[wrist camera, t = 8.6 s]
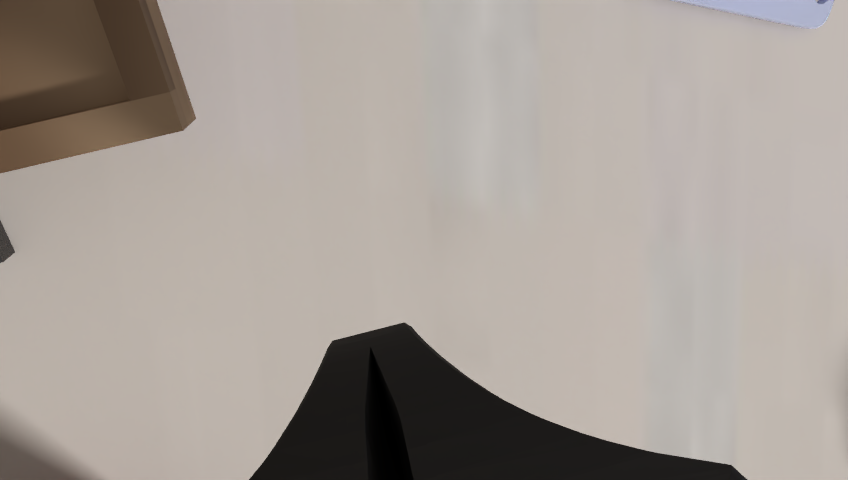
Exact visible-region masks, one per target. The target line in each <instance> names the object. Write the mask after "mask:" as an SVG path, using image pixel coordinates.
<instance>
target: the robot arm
mask: <svg viewBox="0 0 848 480" xmlns="http://www.w3.org/2000/svg"><path fill="white" fill-rule="evenodd" d="M671 1H676V2H681V3H685V4H690V5H695V6H700V7H704V8H709V9H714V10H719V11H723V12H728V13H733V14H738V15H742V16H747V17H752V18H757V19H761V20H766V21H771V22H776V23H780V24H785V25H790V26H794V27H799V28H807V29H815V28H818V27H820V26H822V25H823V24H824V23H825V22H826V20H827V18H828V16H829V14H830V11H831V8H832V6H833V3H834V0H818V2H816V0H671ZM249 480H747V479H746V478H745V477H744V476H742V475H741V474H740V473H739V472H738V471H737V470H736V469H735V468H734V467H733V466H731V465H728V464H721V463H715V462H709V461H703V460H697V459H691V458H684V457H678V456H672V455H666V454H660V453H654V452H650V451H645V450H641V449H637V448H633V447H629V446H625V445H621V444H617V443H613V442H609V441H606V440H602V439H599V438H596V437H592V436H589V435H586V434H583V433H580V432H577V431H574V430H571V429H569V428H566V427H563V426H560V425H558V424H555V423H552V422H550V421H547V420H545V419H542V418H540V417H538V416H535V415H533V414H531V413H528V412H526V411H524V410H522V409H520V408H518V407H516V406H514V405H512V404H510V403H508V402H506V401H504V400H503V399H501V398H499V397H498V396H496V395H494V394H493V393H491V392H489V391H488V390H486V389H485V388H483V387H482V386H480V385H479V384H477V383H476V382H474V381H473V380H471V379H470V378H469V377H467V376H466V375H464V374H463V373H462V372H460V371H459V370H458V369H457V368H455V367H454V366H453V365H451V364H450V363H449V362H448V361H446V360H445V359H444V358H443V357H441V356H440V355H439V354H438V353H437V352H436V351H435V350H433V349H432V348H431V347H430V346H429V345H428V344H427V343H426V342H425V341H424V340H423V339H422V338H421V337H420V336H419V335H418V334H417V333H416V332H415V330H414V329H413V328H412V327H411V326H409V325H408V324H406V323H401V324H397V325H393V326H389V327H385V328H381V329H377V330H373V331H369V332H365V333H361V334H357V335H354V336H350V337H346V338H342V339H338V340H334V341H332V343H331V344H330V346H329V347H328V349H327V351H326V353H325V356H324V358H323V360H322V363H321V365H320V367H319V369H318V371H317V373H316V375H315V378H314V380H313V382H312V384H311V386H310V387H309V389H308V391H307V393H306V395H305V397H304V399H303V400H302V402H301V404H300V406H299V408H298V410H297V411H296V413H295V415H294V417H293V418H292V420H291V421H290V423H289V425H288V426H287V428H286V429H285V431H284V432H283V434H282V436H281V437H280V439H279V440H278V442H277V443H276V445H275V447H274V448H273V449H272V451H271V452H270V454H269V455H268V457H267V458H266V459H265V461H264V462H263V463H262V465H261V466H260V467H259V468H258V470H257V471H256V472H255V473H254V474H253V476H252V477H251V478H250V479H249Z"/></svg>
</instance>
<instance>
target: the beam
mask: <svg viewBox="0 0 848 480" xmlns="http://www.w3.org/2000/svg"><path fill="white" fill-rule="evenodd" d="M195 119H196V117H195V114H194V111H193V108H192V105H191V102H190V99H189V96H188V93H187V90H186V87H185V84H184V81H183V78H182V75H181V72H180V69H179V66H178V63H177V60H176V57H175V54H174V51H173V48H172V45H171V42H170V39H169V36H168V33H167V30H166V27H165V24H164V21H163V18H162V15H161V12H160V9H159V6H158V3H157V0H0V173H3V172H8V171H12V170H16V169H20V168H25V167H29V166H33V165H38V164H42V163H46V162H50V161H55V160H59V159H63V158H68V157H72V156H76V155H80V154H85V153H89V152H93V151H97V150H102V149H106V148H110V147H115V146H119V145H123V144H127V143H132V142H136V141H140V140H144V139H149V138H153V137H157V136H162V135H166V134H170V133H174V132H179V131H183V130H184V129H185V128H186V127H187V126H188V125H189V124H191V123H192V122H193V121H194V120H195Z"/></svg>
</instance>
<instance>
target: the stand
mask: <svg viewBox="0 0 848 480" xmlns="http://www.w3.org/2000/svg"><path fill="white" fill-rule="evenodd" d="M13 253H15V251H14V249H13V247H12V245H11V243H10V240H9V238H8V236H7V234H6V232H5V230H4V228H3V225H2V223H1V221H0V263H1V262H4V261H5V260H6V259H7V258H8V257H10V256H11V255H12V254H13Z"/></svg>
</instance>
